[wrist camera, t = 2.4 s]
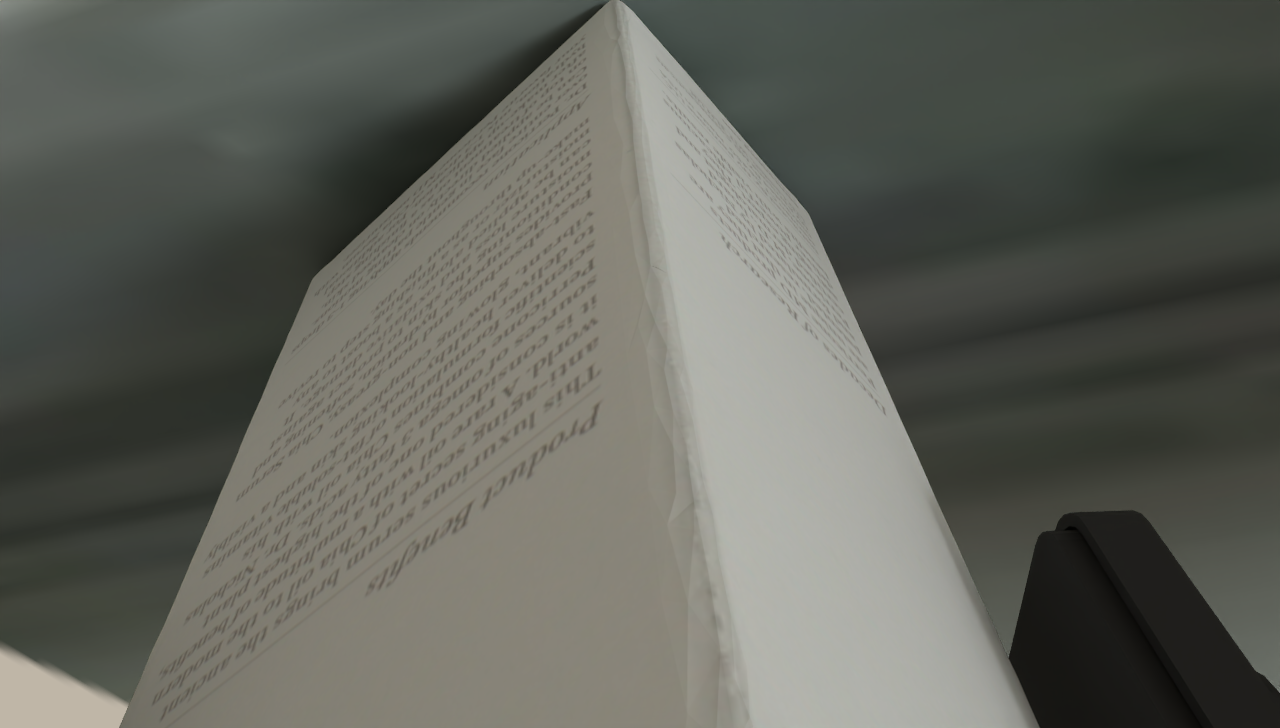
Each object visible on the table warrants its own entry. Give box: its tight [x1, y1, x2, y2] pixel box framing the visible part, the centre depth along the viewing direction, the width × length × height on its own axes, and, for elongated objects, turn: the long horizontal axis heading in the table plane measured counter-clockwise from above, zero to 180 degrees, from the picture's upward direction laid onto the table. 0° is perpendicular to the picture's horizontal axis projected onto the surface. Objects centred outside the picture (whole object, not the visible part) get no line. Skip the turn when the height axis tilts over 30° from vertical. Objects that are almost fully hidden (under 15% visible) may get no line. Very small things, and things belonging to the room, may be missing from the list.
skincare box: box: [119, 0, 1040, 728], centre depth 11 cm, size 6×4×12 cm
